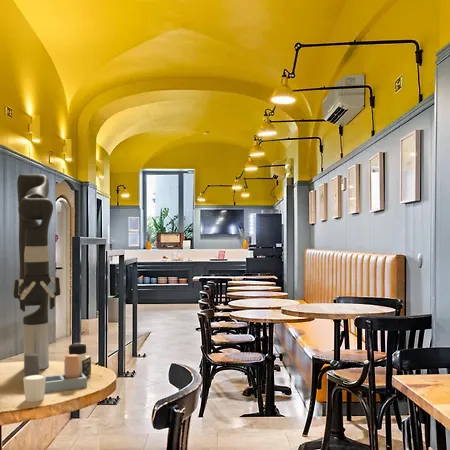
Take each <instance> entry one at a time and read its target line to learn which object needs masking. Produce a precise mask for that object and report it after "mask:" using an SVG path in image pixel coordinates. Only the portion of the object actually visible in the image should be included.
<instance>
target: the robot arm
mask: <svg viewBox="0 0 450 450" xmlns="http://www.w3.org/2000/svg"><path fill="white" fill-rule="evenodd" d="M49 182H50V181H49V179H48V176H46V174H41V173H20V174H19V175H18V177H17V182H16V183H17V184H16V185H17V188H16V189H17V202H18V208H17V209H18V210H17V211H18V220H19V221H18V253H19V257H18V258H19V279H18V278H15V279H14V281H13V295H12V296H13V297H14V299H17V300H18V302H19V309H20V310H21V311H22V312H26V307H31V306H32V307H34V306H39V307H38V308H37V309H36V310H35V311H33V312H30V313H29V314H26V315H25V316H23V319H22V321H23V322H22V325H23V326H22V327H23V328H22V329H23V332H22V334H23V356H24V355H27V354H39V370H44V369H47V368H49V367H50V357H49V356H50V353H49V352H50V349H49V348H50V347H49V344H50V343H49V310H53V308H55V305H56V304H55V300H56V299H55V298H56V297H58V296H60V295H61V285H60V277H58V276H54V277H51V276H50V252H49V251H50V250H49V244H48V243H49V242H48V241H49V238H48V236H49V226H50V223H51V218H52V215H53V212H54V205H53V204H54V203H53V202H52V201H51V199H49V198H48V196H49V191H50V183H49ZM39 221H41V222H40V223H39ZM51 282H52V284H53V285H54V292H53V291H52V289H50V288H49V284H51ZM23 369H24V370H25V367H24V366H23Z"/></svg>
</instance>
